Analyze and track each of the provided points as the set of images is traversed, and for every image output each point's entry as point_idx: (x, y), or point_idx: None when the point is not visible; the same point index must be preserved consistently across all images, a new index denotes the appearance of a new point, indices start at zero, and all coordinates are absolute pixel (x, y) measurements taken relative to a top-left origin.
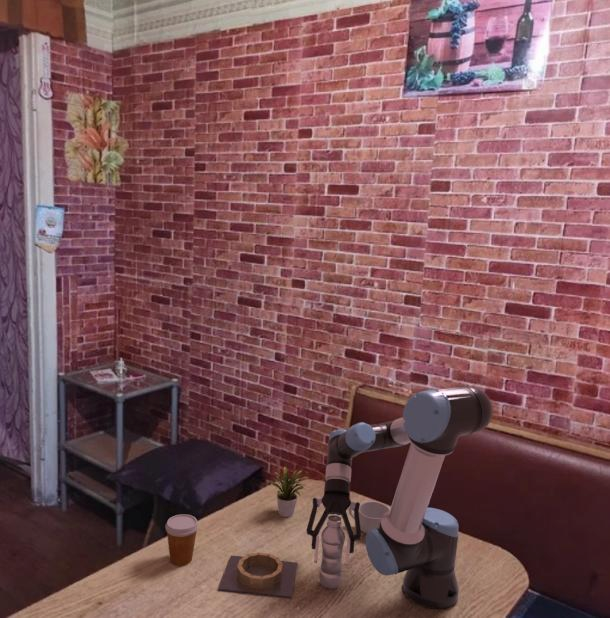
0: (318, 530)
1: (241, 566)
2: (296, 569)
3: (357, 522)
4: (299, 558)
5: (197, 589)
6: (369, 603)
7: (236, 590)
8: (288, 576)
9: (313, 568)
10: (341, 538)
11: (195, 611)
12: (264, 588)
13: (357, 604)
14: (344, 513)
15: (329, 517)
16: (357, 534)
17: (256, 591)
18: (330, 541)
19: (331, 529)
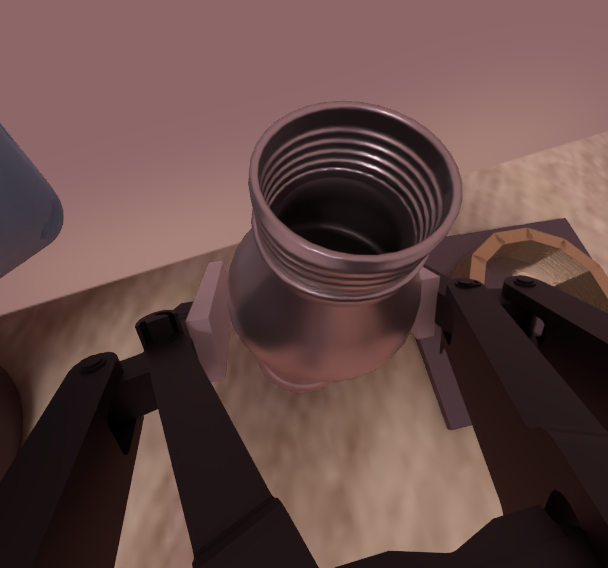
0: (457, 297)
1: (588, 267)
2: (434, 381)
3: (34, 486)
4: (461, 478)
5: (600, 210)
6: (161, 305)
7: (523, 225)
8: (438, 332)
9: (385, 428)
10: (245, 235)
11: (545, 153)
12: (468, 254)
13: (198, 288)
14: (244, 540)
15: (444, 211)
16: (107, 368)
17: (478, 236)
18: (320, 209)
19: (342, 191)
